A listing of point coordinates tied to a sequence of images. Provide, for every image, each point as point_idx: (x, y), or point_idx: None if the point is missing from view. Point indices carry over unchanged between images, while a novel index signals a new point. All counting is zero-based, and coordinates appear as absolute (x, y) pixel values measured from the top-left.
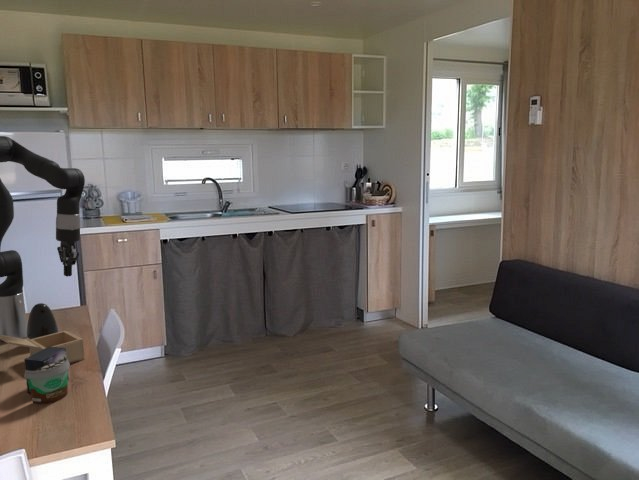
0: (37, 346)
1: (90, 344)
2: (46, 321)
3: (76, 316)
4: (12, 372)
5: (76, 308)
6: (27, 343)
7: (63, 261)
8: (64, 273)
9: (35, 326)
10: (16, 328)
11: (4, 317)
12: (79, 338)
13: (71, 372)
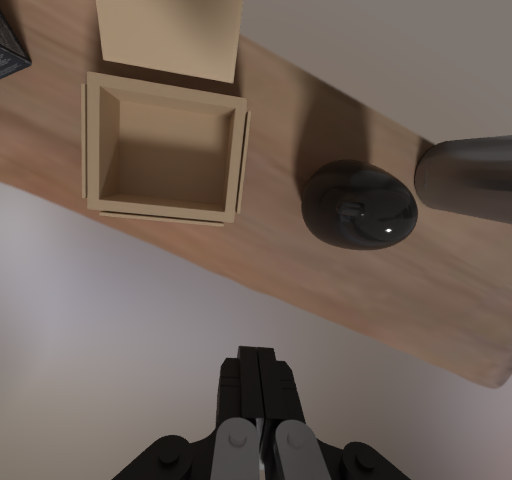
0: (116, 60)
1: (212, 268)
2: (326, 207)
3: (445, 348)
4: None
5: (499, 375)
6: (144, 34)
7: (295, 462)
8: (257, 357)
9: (337, 173)
10: (441, 170)
11: (496, 143)
12: (105, 208)
13: (34, 124)
